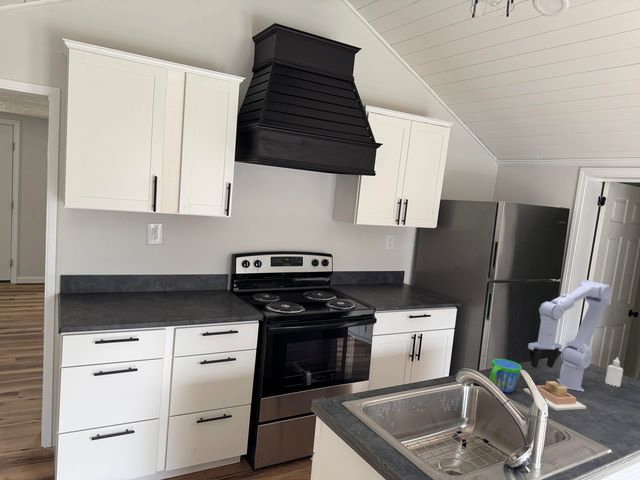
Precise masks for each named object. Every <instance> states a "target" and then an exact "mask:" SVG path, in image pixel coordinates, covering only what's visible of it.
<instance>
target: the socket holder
mask: <svg viewBox="0 0 640 480" xmlns="http://www.w3.org/2000/svg"><path fill="white" fill-rule="evenodd" d="M536 386H537V388H538V389H539V391H540V393H541V394H542V396H543V397H544V398H545V400H546V402H547V404H548V405H547V406H548V407H550V408H551V409H552V410H555V411H569V410H570V411H572V410H586V409H587V406H586V405H584V404H583V403H580V402H579V401H577V397H576V396H574V395H572V394H570V393H568V392H567V393H566V397H556V396H554V395H552V394H550V393H549V392H547V391H545V386H546V384H545V385H542V384H541V385H536ZM528 388H529V387H527V388H523V391H524V392H525V393H527V394H528V395H530V396H532V395H531V393H530V391H529V389H528Z"/></svg>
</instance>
